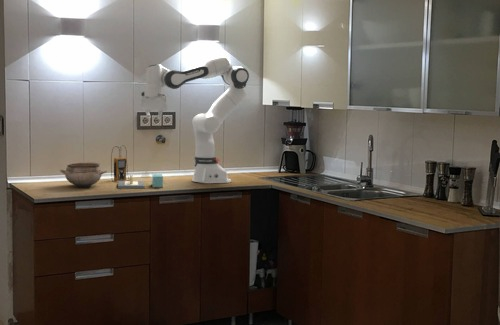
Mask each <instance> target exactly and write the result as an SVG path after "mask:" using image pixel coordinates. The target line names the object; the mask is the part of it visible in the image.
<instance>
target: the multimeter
mask: <svg viewBox="0 0 500 325" xmlns="http://www.w3.org/2000/svg"><path fill="white" fill-rule="evenodd" d="M123 147H124V149H127V148H126V146H125V145H123ZM114 148H117V149H118V151H119V153H118V157H115V158H113V164H112V155H113V153H111V154H110V167H111V168H110V170H111V176H113V179H111V182H112V183H114V182H118V181H130V176H127V174H129V170H128V167H129V166H127V163H128V160H127V159H128V158H127V153H128V151H127V150H125V157H122V154H121V148H120V147H119V146H114ZM114 148H112V149H111V152H113V151H114ZM112 165H113V166H112ZM112 167H113V170H112ZM112 171H113V172H112ZM127 178H128V179H127Z"/></svg>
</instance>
